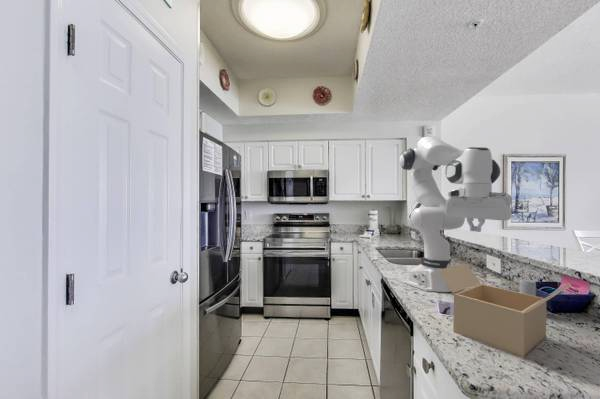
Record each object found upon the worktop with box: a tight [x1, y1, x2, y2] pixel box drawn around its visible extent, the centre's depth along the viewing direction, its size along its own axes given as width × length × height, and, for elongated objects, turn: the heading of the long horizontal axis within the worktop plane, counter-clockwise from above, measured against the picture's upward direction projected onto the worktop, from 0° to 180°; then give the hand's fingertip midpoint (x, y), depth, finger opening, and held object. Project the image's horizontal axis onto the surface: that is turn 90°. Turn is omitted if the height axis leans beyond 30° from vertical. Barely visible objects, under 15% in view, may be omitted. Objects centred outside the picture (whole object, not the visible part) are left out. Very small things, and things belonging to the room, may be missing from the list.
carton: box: [453, 283, 547, 359], centre depth 86 cm, size 18×20×12 cm
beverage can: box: [518, 278, 537, 296], centre depth 104 cm, size 5×5×12 cm
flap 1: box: [438, 262, 481, 294], centre depth 96 cm, size 8×19×1 cm
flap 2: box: [525, 282, 573, 313], centre depth 76 cm, size 8×19×1 cm
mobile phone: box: [436, 300, 454, 318], centre depth 106 cm, size 8×1×15 cm
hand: (475, 231), depth 98 cm, fingers closed
